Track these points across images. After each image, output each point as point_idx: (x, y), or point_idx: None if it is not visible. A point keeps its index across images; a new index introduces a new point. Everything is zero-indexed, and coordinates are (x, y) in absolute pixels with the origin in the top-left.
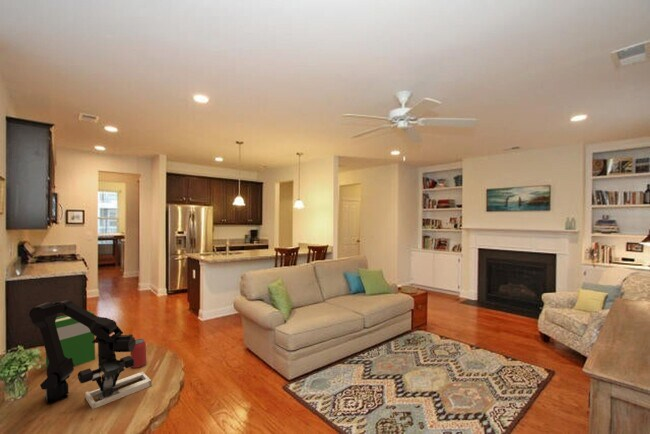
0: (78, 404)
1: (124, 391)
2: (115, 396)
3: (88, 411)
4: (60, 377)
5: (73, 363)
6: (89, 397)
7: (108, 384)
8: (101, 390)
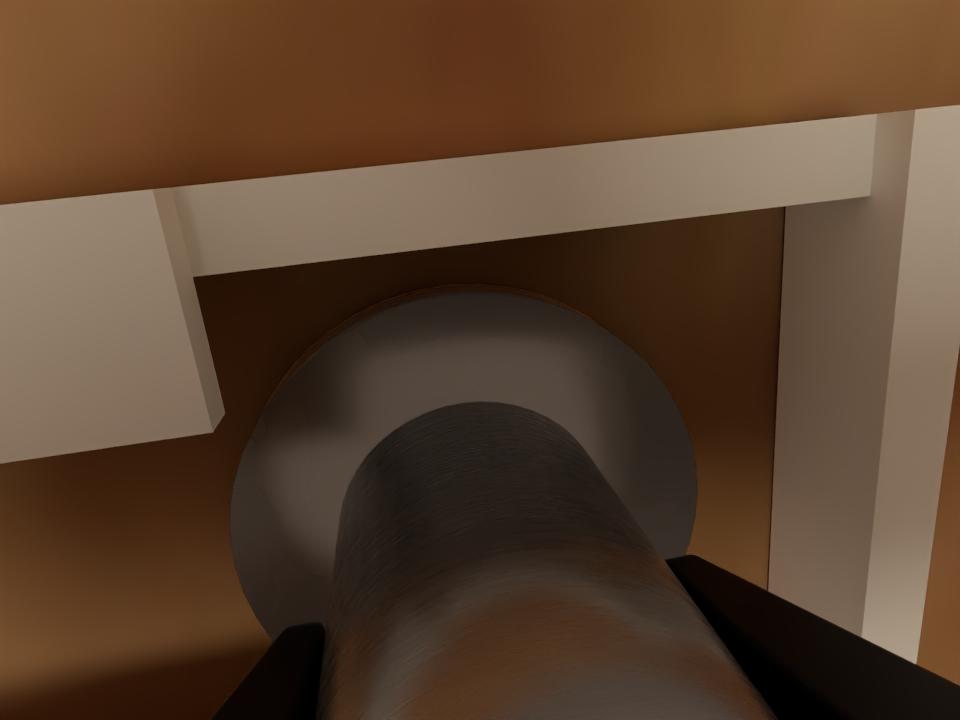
0: (954, 519)
1: (1, 207)
2: (325, 173)
3: (927, 86)
4: None
5: None
6: (925, 494)
7: (567, 634)
8: (708, 564)
